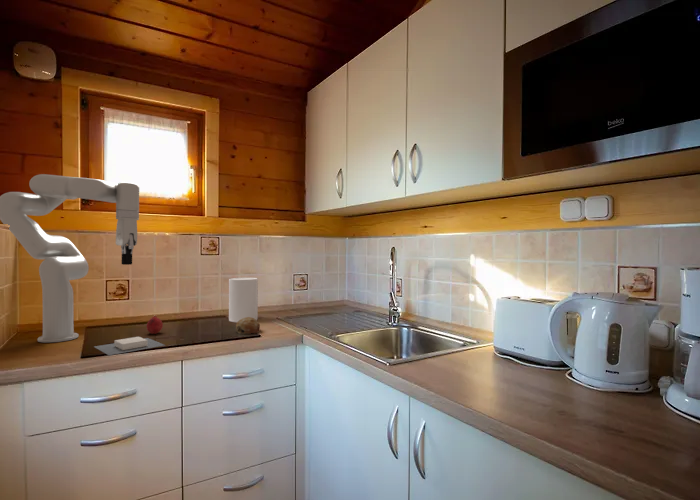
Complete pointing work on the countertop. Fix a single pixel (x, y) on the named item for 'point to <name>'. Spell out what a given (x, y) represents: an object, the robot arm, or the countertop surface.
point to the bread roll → (247, 326)
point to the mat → (112, 350)
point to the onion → (154, 325)
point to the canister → (243, 298)
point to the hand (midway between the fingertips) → (126, 264)
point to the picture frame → (130, 343)
